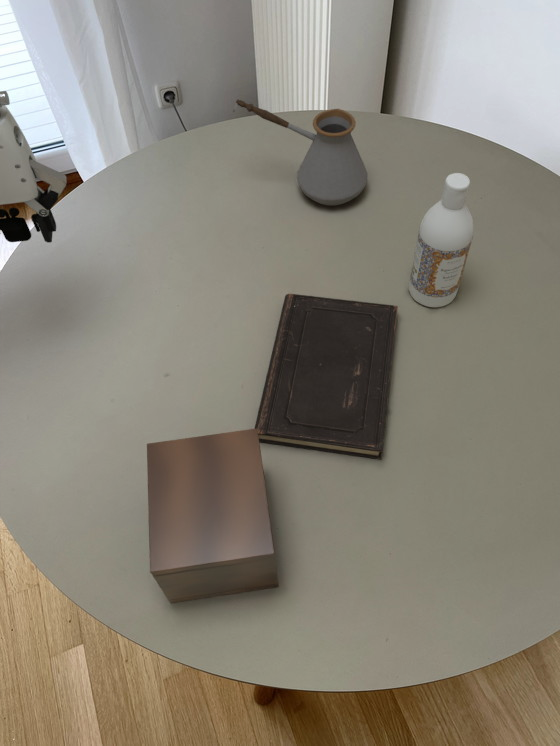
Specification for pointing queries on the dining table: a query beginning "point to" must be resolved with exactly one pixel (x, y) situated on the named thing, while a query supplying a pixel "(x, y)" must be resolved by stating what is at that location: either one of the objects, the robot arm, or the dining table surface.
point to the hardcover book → (329, 376)
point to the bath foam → (442, 246)
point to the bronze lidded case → (209, 516)
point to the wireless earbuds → (15, 226)
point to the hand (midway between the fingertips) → (17, 237)
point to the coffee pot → (326, 156)
